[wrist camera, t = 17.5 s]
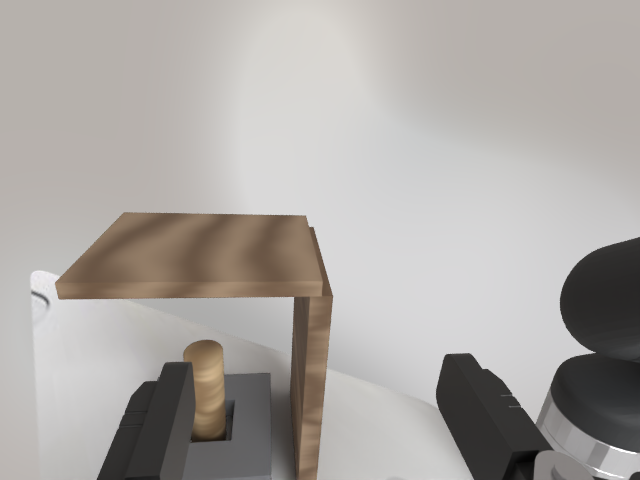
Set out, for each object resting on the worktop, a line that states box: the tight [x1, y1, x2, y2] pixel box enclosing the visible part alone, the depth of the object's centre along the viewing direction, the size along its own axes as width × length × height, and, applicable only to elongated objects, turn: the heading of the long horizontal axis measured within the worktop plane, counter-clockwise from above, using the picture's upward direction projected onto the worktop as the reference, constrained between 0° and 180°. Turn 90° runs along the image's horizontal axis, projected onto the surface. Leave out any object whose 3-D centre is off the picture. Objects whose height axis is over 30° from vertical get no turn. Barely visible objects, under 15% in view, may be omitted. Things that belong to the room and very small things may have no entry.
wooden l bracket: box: [55, 213, 333, 480], centre depth 45 cm, size 22×16×28 cm
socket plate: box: [157, 373, 271, 480], centre depth 50 cm, size 16×16×3 cm
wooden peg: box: [183, 340, 227, 443], centre depth 48 cm, size 4×4×14 cm
